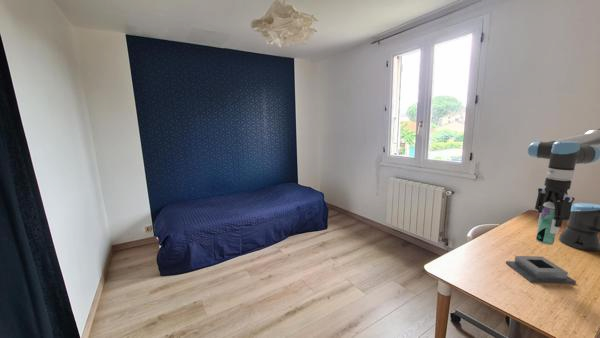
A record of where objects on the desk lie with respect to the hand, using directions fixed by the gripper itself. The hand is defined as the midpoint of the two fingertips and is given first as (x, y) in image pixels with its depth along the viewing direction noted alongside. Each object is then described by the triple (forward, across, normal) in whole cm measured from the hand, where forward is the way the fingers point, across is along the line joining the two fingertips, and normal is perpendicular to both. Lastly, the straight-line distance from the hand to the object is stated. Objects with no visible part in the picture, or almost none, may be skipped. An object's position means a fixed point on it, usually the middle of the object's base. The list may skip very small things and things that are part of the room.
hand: (547, 229), depth 106 cm
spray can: (+6, 0, 0) cm, 6 cm away
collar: (+21, 0, 0) cm, 21 cm away
